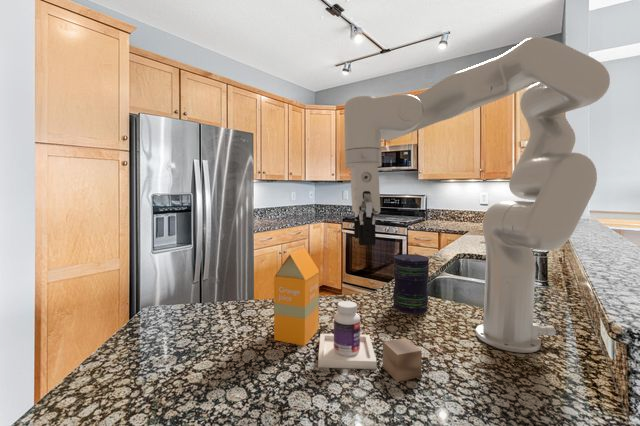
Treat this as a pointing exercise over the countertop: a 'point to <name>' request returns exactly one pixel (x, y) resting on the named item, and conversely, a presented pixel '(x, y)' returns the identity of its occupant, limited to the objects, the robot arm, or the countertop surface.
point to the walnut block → (402, 359)
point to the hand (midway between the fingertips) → (364, 241)
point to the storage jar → (411, 283)
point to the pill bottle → (347, 329)
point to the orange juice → (296, 299)
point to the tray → (335, 360)
